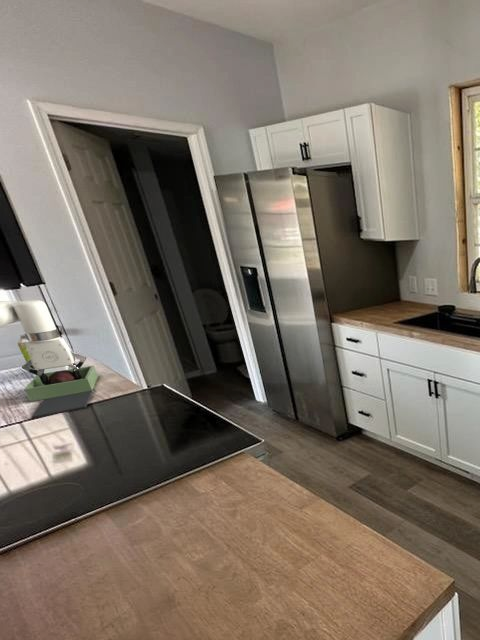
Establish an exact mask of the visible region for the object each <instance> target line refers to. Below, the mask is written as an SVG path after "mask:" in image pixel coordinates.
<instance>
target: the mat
mask: <svg viewBox="0 0 480 640" xmlns="http://www.w3.org/2000/svg"><path fill="white" fill-rule="evenodd" d="M92 394H93V390H91V391H86V392H80V393H75V394H69V395H64V396H58V397H53V398H47V399H42V400H41V402H40V405H39V406H38V407H37V408H36V410H35V412H34V413H33V414H32V416H31V418H32V419H37V418H42V417H47V416H52V415H57V414H62V413H68V412H71V411H76V410H82V409H86V408H87V406H88V403H89V400H90V399H91V396H92Z"/></svg>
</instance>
